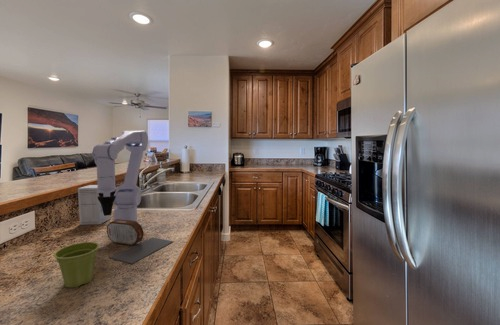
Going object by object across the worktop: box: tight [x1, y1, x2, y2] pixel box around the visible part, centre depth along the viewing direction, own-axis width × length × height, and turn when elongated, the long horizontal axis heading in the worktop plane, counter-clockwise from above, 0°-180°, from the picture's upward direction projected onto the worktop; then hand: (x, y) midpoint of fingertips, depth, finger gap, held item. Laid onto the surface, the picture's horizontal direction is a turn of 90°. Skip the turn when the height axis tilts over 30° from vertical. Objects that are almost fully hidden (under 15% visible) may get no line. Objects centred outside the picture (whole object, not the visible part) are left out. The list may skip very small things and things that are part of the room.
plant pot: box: [53, 241, 100, 289], centre depth 62 cm, size 9×9×9 cm
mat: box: [108, 236, 174, 265], centre depth 82 cm, size 10×18×1 cm, turn 157°
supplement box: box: [77, 184, 112, 226], centre depth 112 cm, size 10×9×17 cm
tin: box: [106, 219, 145, 246], centre depth 87 cm, size 15×3×8 cm, turn 71°
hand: (107, 212), depth 90 cm, fingers open, 7 cm apart
